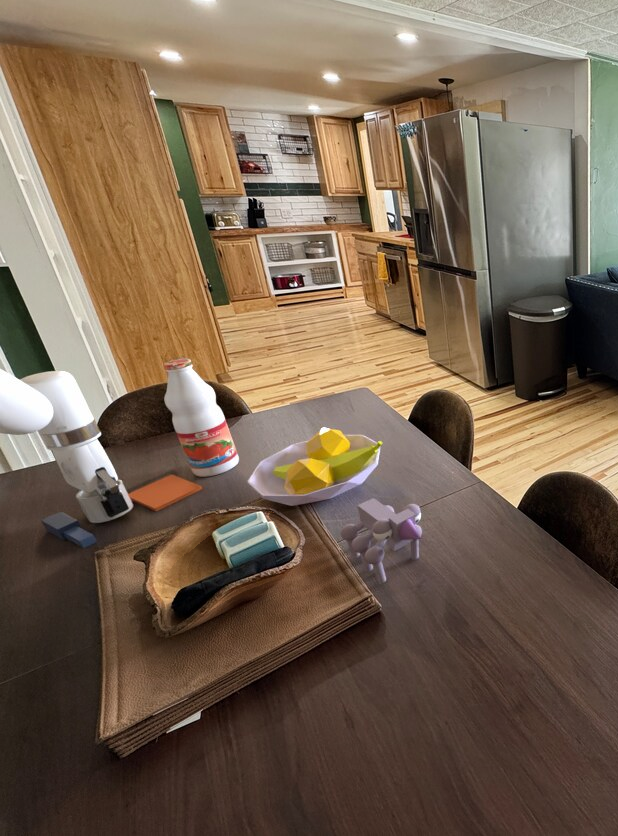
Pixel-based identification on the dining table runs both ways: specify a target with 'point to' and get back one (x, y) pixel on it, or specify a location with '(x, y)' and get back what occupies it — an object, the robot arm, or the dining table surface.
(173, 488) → the orange tile
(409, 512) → the toy sheep
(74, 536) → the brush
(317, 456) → the fruit bowl
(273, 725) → the dining table surface
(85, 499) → the white round cup
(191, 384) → the fruit juice
